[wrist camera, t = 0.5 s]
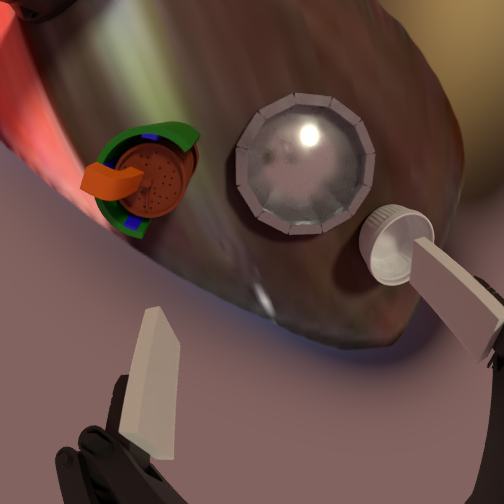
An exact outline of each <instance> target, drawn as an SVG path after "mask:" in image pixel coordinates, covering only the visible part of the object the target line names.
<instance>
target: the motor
mask: <svg viewBox="0 0 504 504" xmlns="http://www.w3.org/2000/svg"><path fill="white" fill-rule="evenodd" d="M199 136H200V134H199V132H198V131H196V130H195V129H194V128H193V127H191V126H189V125H187V124H185V123H181V122H164V123H158V124H152V125H146V126H140V127H135V128H132V129H129V130H126V131H124V132H122V133H120V134H119V135H117V136H116V137H114V138H113V139H112V140H111V141H110V142H109V143H108V144H107V145H106V146H105V147H104V149H103V150H102V152H101V153H100V155H99V157H98V159H97V162H95V163H93V164H91V165H89V166H87V167H86V170H85V173H84V176H83V180H82V183H81V186H80V189H81V190H83V191H85V192H87V193H88V194H90V195H92V196H94V197H95V200H96V203H97V206H98V208H99V210H100V211H101V213H102V215H103V216H104V217H105V218H106V220H107V221H108V222H109V223H110V224H111V225H112V226H114V227H115V228H116V229H118V230H119V231H121V232H123V233H125V234H127V235H129V236H132V237H136V238H141V239H142V238H143V236H144V234H145V232H146V230H147V228H148V226H149V224H150V222H151V221H152V219H153V218H154V217H159V216H163V215H165V214H167V213H169V212H170V211H172V210H173V209H174V208H175V207H176V206H177V205H178V204H179V203H180V201H181V200H182V198H183V196H184V193H185V190H186V187H187V185H188V182H189V179H190V178H191V177H192V176H193V174H194V172H195V170H196V167H197V164H198V160H199V153H198V149H197V146H196V144H195V142H196V140H197V139H198V137H199ZM147 139H150V140H149V141H146V140H147ZM145 141H146V142H145Z"/></svg>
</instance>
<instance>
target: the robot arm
mask: <svg viewBox="0 0 504 504" xmlns="http://www.w3.org/2000/svg"><path fill="white" fill-rule="evenodd" d="M0 1H2V2H5V3H8V4H9V5H10V6H11V7H12V9H13V10H14V11H15V12H16V14H17V15H18V16H19V17H20V18H21V19H22V20H25V21H28V22H31V23H40V22H44V21H47V20H49V19H51V18H53V17H55V16H57V15H58V14H60V13H61V12H63V11H64V10H66V9H67V8H68V7H69V6H70V5H72V4H73V3H74V2H75V1H76V0H0ZM409 283H410V284H411V285H412V286H413V287H414V288H415V289H416V290H417V291H418V292H419V294H420V295H421V296H422V297H423V298H424V299H425V300H426V301H427V303H428V304H430V306H431V307H432V308H433V309H434V311H435V312H436V313H437V314H438V315H439V317H440V318H441V319H442V320H443V321H444V323H445V324H446V325H447V326H448V327H449V329H450V330H451V331H452V332H453V334H454V335H455V336H456V337H457V339H458V340H459V341H460V342H461V344H462V345H463V346H464V348H465V349H466V350H467V352H468V353H469V354H470V356H471V357H472V358H473V360H474V361H475V362H476V364H478V363H479V362H480V361H482V360H483V359H485V358H486V357H487V356H488V354H489V353H490V351H491V349H492V348H493V349H494V351H495V353H494V354H493V356H492V358H491V360H490V361H489V363H488V366H487V368H489V367H490V365H491V364H492V362H493V366H492V368H493V381H492V397H491V409H490V417H489V424H488V431H487V437H486V442H485V448H484V452H483V457H482V461H481V465H480V470H479V474H478V477H477V481H476V484H475V487H474V490H473V493H472V495H471V496H470V497H469V499H468V500H467V501H466V502H465V504H504V299H503V298H502V297H501V296H500V295H499V294H498V293H496V291H495V290H494V289H493V288H491V287H490V285H488V284H487V283H486V282H485V281H484V280H483V279H481V278H479V277H477V276H473V277H472V276H471V275H470V274H469V273H468V272H466V270H464V269H463V268H462V267H461V266H460V265H459V264H457V263H456V262H455V261H454V260H453V259H452V258H450V257H449V256H448V255H447V254H446V253H444V252H443V251H442V250H441V249H439V248H438V247H437V246H436V245H434V244H433V243H432V242H431V241H429V240H428V239H427V238H425V237H422V238H418V239H415V240H414V243H413V254H412V264H411V272H410V280H409ZM179 354H180V342H179V341H178V339H177V337H176V335H175V334H174V332H173V330H172V328H171V326H170V325H169V323H168V321H167V319H166V317H165V315H164V313H163V312H162V310H161V308H160V306H158V307H153V308H149V309H146V310H145V314H144V318H143V321H142V325H141V329H140V332H139V336H138V340H137V344H136V348H135V353H134V357H133V361H132V365H131V370H130V374H129V375H121V376H120V377H119V379H118V381H117V382H116V384H115V386H114V391H113V397H112V399H111V405H110V408H109V413H108V419H107V423H106V428H105V430H103V429H102V428H101V427H99V426H96V425H95V426H89V427H87V428H85V429H84V430H83V431H82V432H81V434H80V436H79V440H78V446H79V449H80V450H81V451H76V450H75V449H73V448H71V447H63V448H62V449H60V450H59V451H58V453H57V454H56V458H55V464H56V470H57V474H58V480H59V485H60V489H61V493H62V497H63V501H64V504H188V503H187V502H186V501H185V500H184V499H183V498H182V497H181V496H180V495H179V494H178V493H177V492H176V491H175V490H174V489H173V487H172V486H171V485H170V484H169V483H168V482H167V481H166V480H165V479H164V477H163V476H162V475H161V474H160V473H159V472H158V470H157V469H156V468H155V467H154V466H153V464H151V463H150V455H151V456H152V457H154V458H155V459H157V460H171V459H172V460H173V459H174V435H175V413H176V395H177V380H178V367H179V356H180V355H179Z"/></svg>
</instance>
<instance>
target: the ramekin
mask: <svg viewBox="0 0 504 504" xmlns="http://www.w3.org/2000/svg"><path fill="white" fill-rule="evenodd" d="M422 237H425V238H427V239H428V240H429V241H431V242H432V243H433V244H434V231H433V227H432V225H431V223H430V221H429V220H428V219H427V218H426V217H425V216H424V215H423V214H421V213H420V212H418V211H415V210H410V209H408V208H405V207H403V206H400V205H396V204H394V205H393V204H390V205H386V206H382V207H380V208H378V209H376V210H375V211H373V212H372V213H371V214H370V216H369V217H368V218H367V219H366V221H365V222H364V224H363V226H362V228H361V231H360V235H359V247H360V252H361V254H362V256H363V259H364V260H365V262H366V264H367V266H368V269H369V271H370V273H371V274H372V276H373V277H374V278H375V279H376V280H377V281H378V282H380V283H382V284H385V285H399V284H402V283H404V282H407V281H408V280H410V272H411V264H412V254H413V243H414V240H415V239H418V238H422Z"/></svg>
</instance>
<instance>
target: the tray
mask: <svg viewBox="0 0 504 504" xmlns="http://www.w3.org/2000/svg"><path fill="white" fill-rule="evenodd" d="M360 120H361V118H359V117H358V116H357V115H356V114H354V113H353V112H352V111H350V110H349V109H348V108H347V107H345V106H344V105H343V104H341V103H340V102H339V101H337V100H336V99H335V98H331V97H329V96H321V95H312V94H301V93H293V94H289V95H287V96H285V97H283V98H281V99H279V100H277V101H274V102H272V103H270V104H268V105H267V106H265V107H263V108H261V109H259V110H257V112H255V113H254V115H253V116H252V118H251V120H250V121H249V122H248V124H247V125H246V127H245V128H244V130H243V132H242V134H241V136H240V138H239V140H238V141H237V143H236V145H237V146H236V147H235V171H236V185H237V188H238V190H239V191H240V193H241V195H242V196H243V198H244V199H245V201H246V203H247V204H248V206H249V207H250V209H251V211H252V212H253V214H254V216H255V217H257V219H258V220H260V221H262V222H264V223H266V224H268V225H270V226H272V227H274V228H276V229H278V230H280V231H282V232H284V233H285V234H289V235H296V234H322V232H323V233H325V232H326V231H328V230H330V229H332V228H333V227H335V226H337V225H339V224H340V223H342V222H344V221H346V220H347V219H349V218H351V214H352V215H354V214H355V212H356V211H357V209H358V208H359V206H360V205H361V203H362V202H363V200H364V199H365V197H366V196H367V194H368V193H369V191H370V189H371V188H370V187H372V181H373V172H374V163H375V154H374V152H375V150H374V148H373V145H372V143H371V140H370V138H369V135H368V133H367V130H366V128H365V126H364V123H363V121H360ZM368 186H370V187H368Z"/></svg>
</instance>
